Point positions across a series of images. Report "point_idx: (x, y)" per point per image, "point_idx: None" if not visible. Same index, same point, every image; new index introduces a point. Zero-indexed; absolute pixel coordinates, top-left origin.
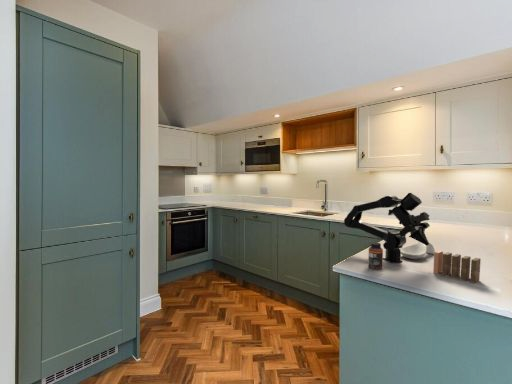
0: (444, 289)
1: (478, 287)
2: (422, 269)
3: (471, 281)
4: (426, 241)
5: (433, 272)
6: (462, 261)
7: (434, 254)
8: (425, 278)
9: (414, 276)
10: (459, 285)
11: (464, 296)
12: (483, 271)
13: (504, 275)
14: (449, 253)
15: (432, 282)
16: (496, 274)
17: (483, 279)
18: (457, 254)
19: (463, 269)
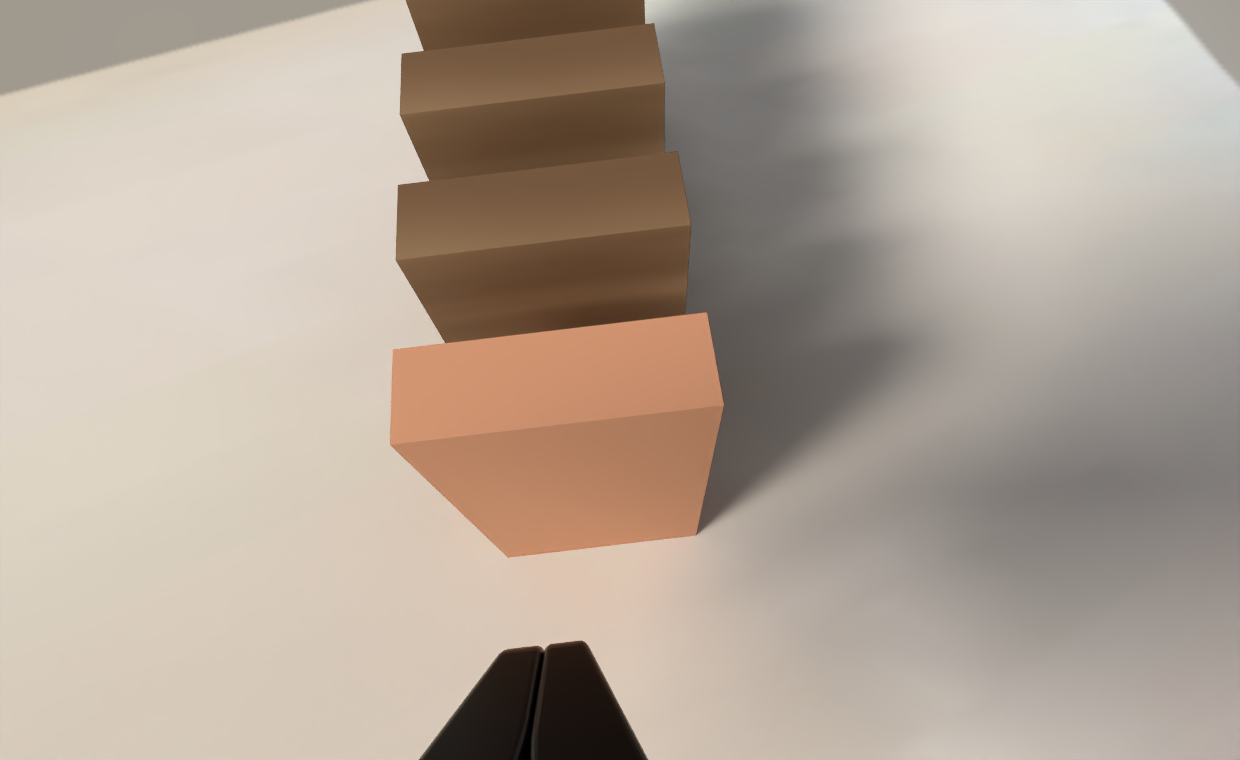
0: (1165, 160)
1: (731, 60)
2: (691, 737)
3: None
4: (622, 722)
5: (695, 532)
6: (642, 13)
7: (719, 421)
8: (1070, 449)
9: (1178, 583)
10: (866, 152)
11: (1120, 17)
12: (28, 249)
13: (42, 102)
14: (491, 189)
15: (1110, 324)
16: (62, 146)
17: (397, 133)
18: (431, 90)
19: None
